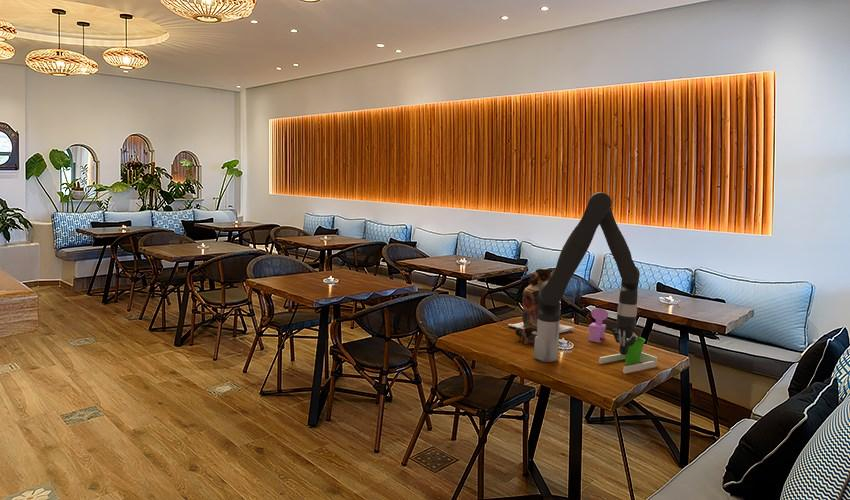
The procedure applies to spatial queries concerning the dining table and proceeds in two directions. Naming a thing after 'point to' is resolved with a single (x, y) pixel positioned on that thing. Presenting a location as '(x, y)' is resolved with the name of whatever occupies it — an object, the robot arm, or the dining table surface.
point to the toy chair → (597, 325)
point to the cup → (634, 352)
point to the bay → (647, 363)
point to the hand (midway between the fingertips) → (623, 354)
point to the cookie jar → (535, 302)
